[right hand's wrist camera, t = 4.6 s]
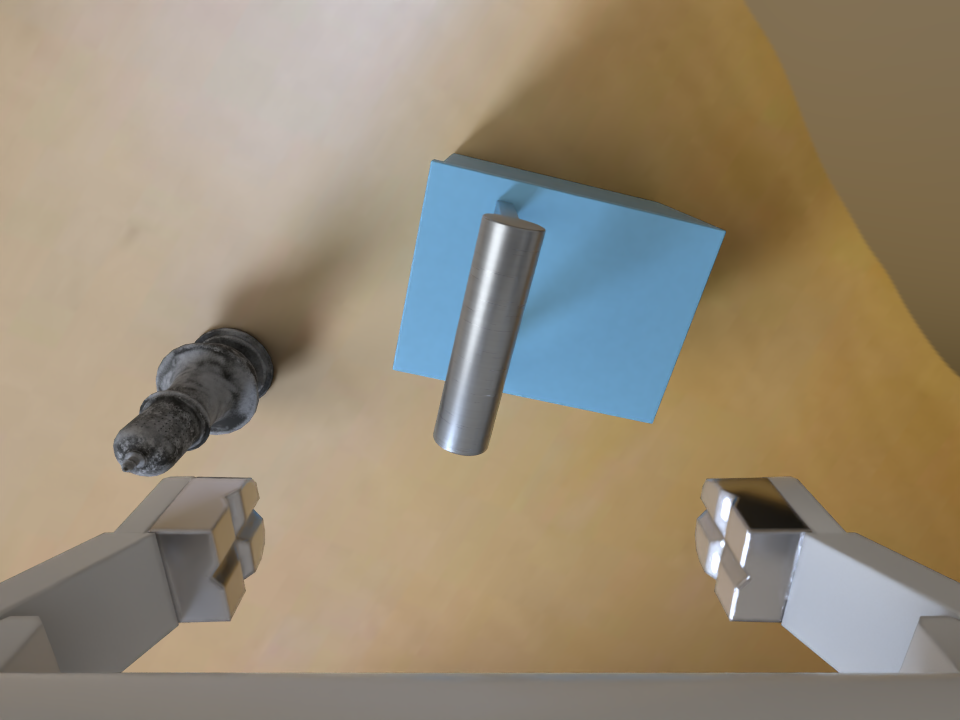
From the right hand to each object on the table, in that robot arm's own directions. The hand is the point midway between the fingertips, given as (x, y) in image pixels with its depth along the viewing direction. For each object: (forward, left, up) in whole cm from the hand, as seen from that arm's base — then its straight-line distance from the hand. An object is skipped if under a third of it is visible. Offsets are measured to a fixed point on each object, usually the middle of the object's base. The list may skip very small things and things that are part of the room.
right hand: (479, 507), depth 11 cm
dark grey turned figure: (-17, -5, -25) cm, 31 cm away
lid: (+3, -1, -16) cm, 17 cm away
